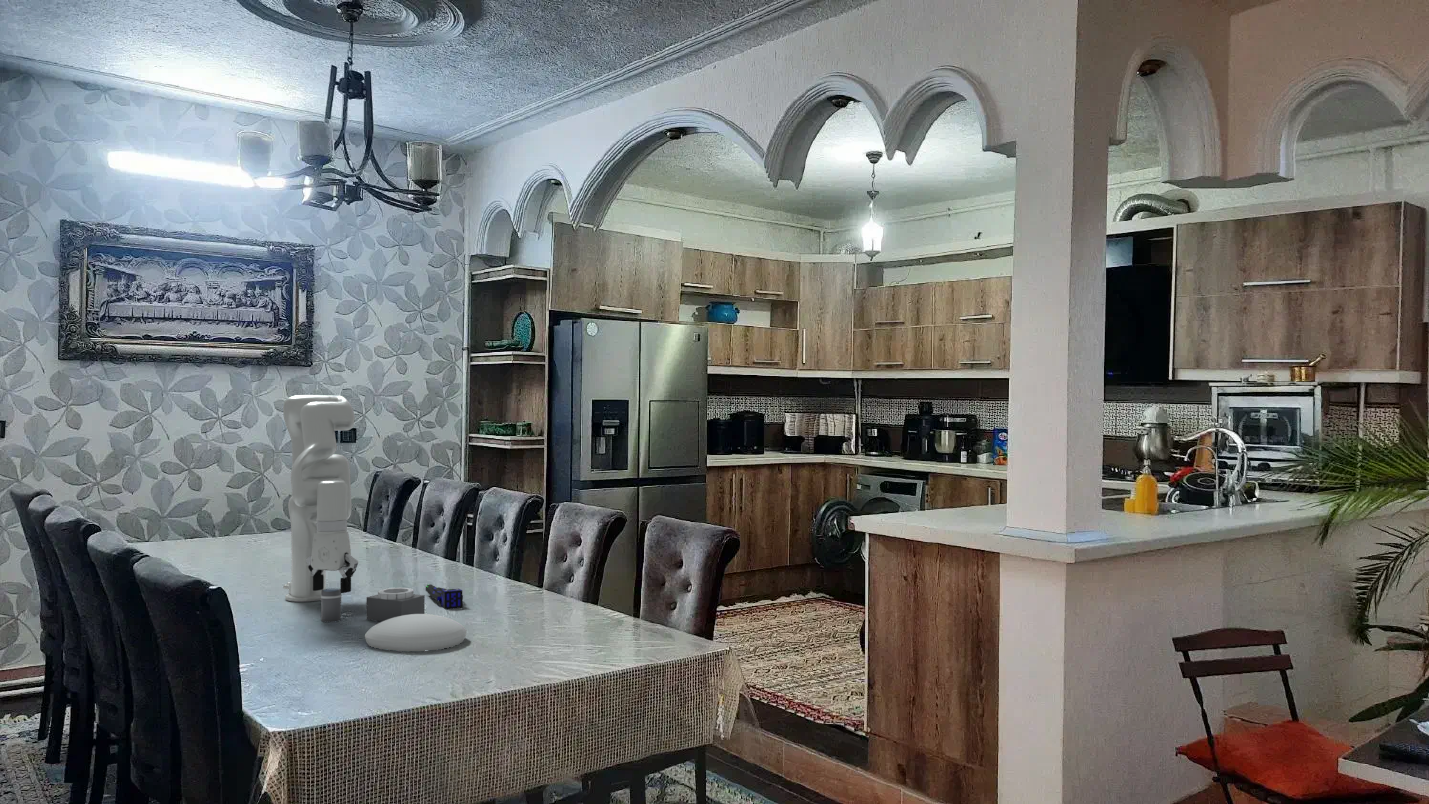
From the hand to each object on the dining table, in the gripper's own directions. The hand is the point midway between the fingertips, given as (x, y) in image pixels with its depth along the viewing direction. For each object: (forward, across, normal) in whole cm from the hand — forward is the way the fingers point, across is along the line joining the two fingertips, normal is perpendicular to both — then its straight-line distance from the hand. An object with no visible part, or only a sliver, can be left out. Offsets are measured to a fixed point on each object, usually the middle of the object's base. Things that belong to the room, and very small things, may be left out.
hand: (331, 591), depth 270 cm
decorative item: (+9, +36, -8) cm, 38 cm away
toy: (+8, +7, +37) cm, 39 cm away
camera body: (+8, +13, +10) cm, 18 cm away
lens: (+8, -1, +1) cm, 8 cm away
